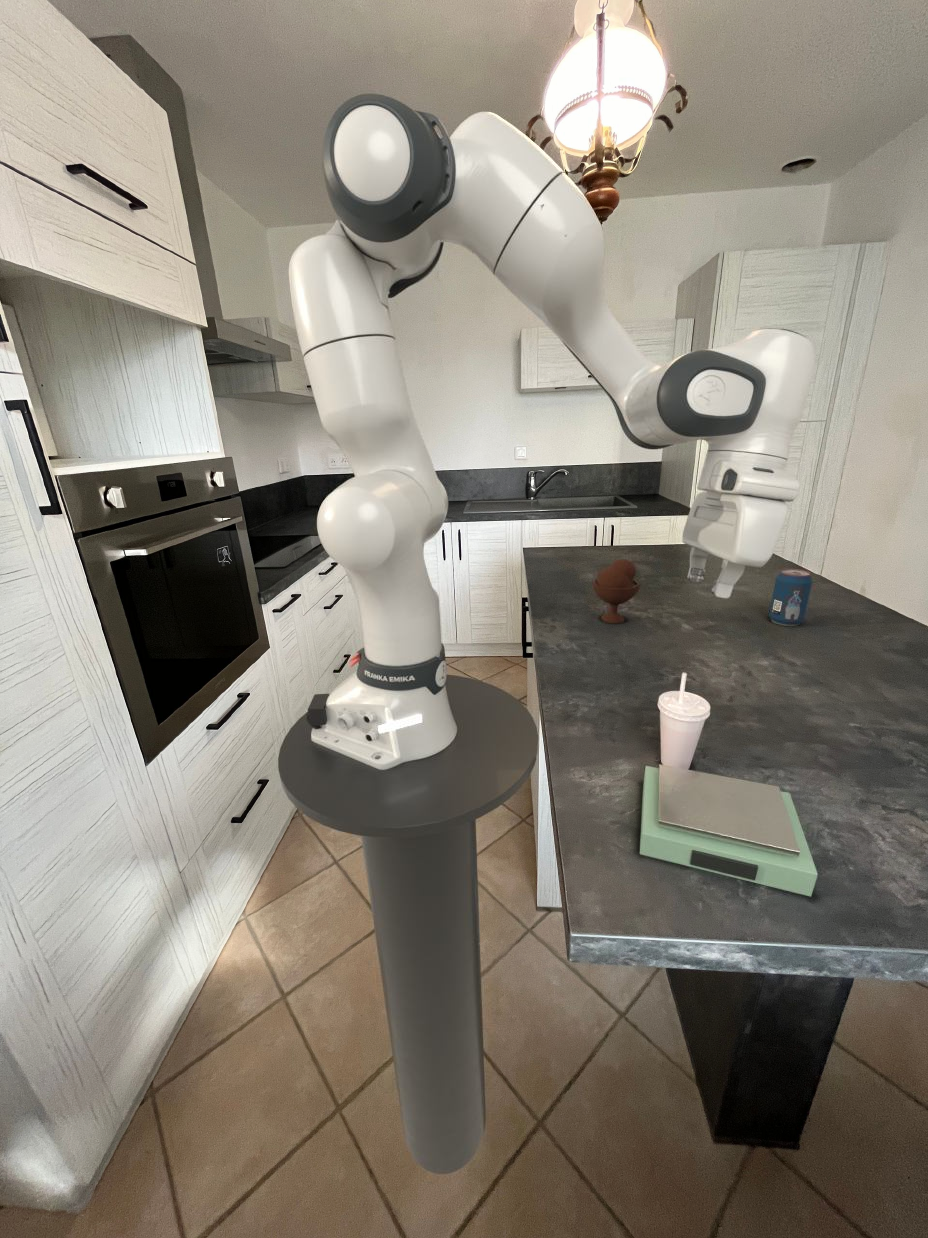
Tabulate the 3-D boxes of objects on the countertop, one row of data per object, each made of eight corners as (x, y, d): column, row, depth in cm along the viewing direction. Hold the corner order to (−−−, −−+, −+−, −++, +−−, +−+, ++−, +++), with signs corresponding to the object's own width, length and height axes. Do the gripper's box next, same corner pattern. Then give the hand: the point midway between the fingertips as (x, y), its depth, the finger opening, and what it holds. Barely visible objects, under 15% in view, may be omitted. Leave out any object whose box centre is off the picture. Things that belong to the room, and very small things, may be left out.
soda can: (783, 614, 118) (794, 566, 113) (810, 624, 111) (822, 574, 107) (760, 618, 116) (770, 569, 112) (785, 628, 110) (797, 577, 105)
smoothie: (641, 752, 70) (651, 665, 65) (681, 745, 71) (694, 659, 66) (668, 781, 64) (681, 687, 59) (711, 773, 65) (727, 681, 60)
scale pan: (657, 826, 52) (658, 820, 52) (658, 769, 61) (659, 764, 61) (798, 858, 48) (800, 852, 48) (777, 792, 57) (779, 786, 56)
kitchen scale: (639, 856, 53) (642, 835, 52) (643, 784, 64) (645, 765, 63) (812, 900, 48) (819, 877, 47) (784, 812, 58) (789, 792, 57)
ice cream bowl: (610, 608, 126) (615, 551, 121) (646, 621, 117) (652, 560, 112) (580, 617, 121) (583, 558, 116) (615, 631, 112) (620, 567, 107)
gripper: (686, 477, 70) (661, 570, 74) (747, 476, 51) (709, 602, 55) (731, 483, 70) (703, 577, 74) (809, 485, 50) (766, 612, 54)
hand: (706, 588), depth 64 cm, fingers open, 8 cm apart
